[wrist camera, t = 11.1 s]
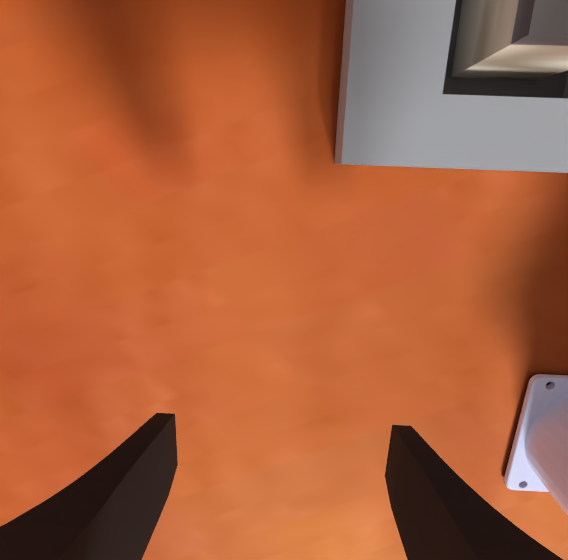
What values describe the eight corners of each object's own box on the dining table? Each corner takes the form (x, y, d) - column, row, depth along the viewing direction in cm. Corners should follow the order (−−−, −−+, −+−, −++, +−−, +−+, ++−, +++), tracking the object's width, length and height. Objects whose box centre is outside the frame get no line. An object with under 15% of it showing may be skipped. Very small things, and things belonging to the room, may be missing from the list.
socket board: (708, -138, 15) (804, -208, 12) (619, 174, 19) (678, 176, 16) (356, -146, 15) (370, -217, 13) (334, 163, 19) (341, 164, 16)
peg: (560, -25, 16) (708, -130, 10) (539, 80, 17) (661, 37, 12) (466, -27, 16) (560, -133, 10) (451, 77, 17) (528, 34, 12)
